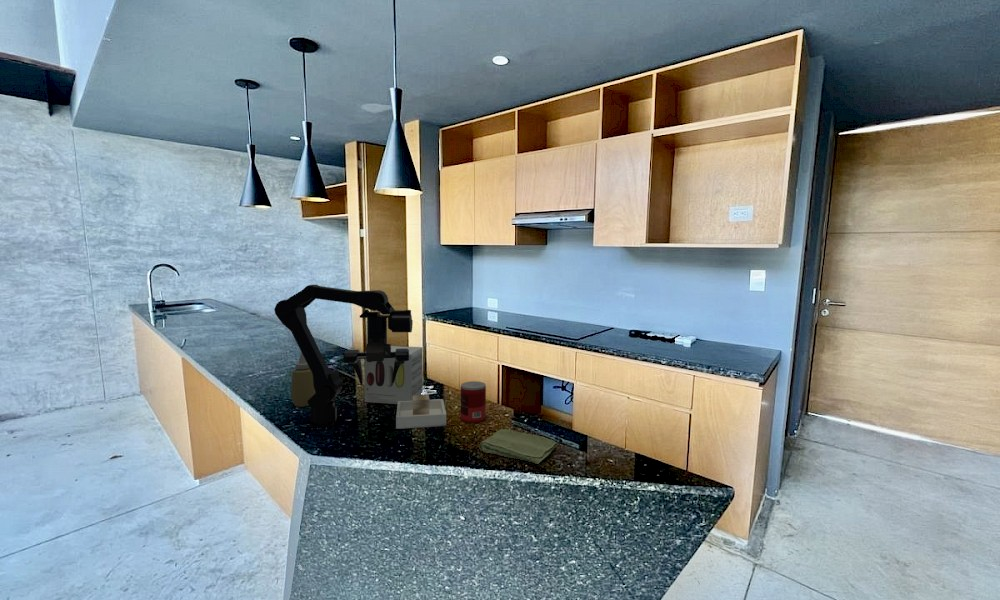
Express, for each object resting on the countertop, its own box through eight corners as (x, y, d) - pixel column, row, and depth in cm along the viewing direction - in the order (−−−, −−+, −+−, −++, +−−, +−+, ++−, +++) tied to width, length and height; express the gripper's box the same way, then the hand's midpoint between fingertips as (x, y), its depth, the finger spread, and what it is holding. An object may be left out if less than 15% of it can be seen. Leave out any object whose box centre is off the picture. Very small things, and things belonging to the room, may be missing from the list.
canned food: (489, 416, 131) (489, 382, 130) (477, 425, 123) (478, 389, 123) (468, 413, 134) (468, 380, 133) (455, 421, 127) (456, 386, 126)
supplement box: (363, 403, 142) (363, 351, 141) (379, 392, 156) (378, 345, 154) (411, 405, 140) (411, 353, 139) (423, 394, 154) (423, 346, 152)
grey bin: (396, 428, 120) (396, 417, 119) (398, 411, 134) (397, 401, 134) (446, 425, 123) (446, 414, 122) (442, 409, 137) (442, 399, 137)
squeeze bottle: (285, 406, 138) (283, 353, 136) (304, 399, 145) (303, 349, 144) (303, 409, 135) (301, 355, 133) (322, 402, 142) (321, 351, 141)
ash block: (412, 419, 126) (412, 400, 125) (412, 414, 130) (412, 395, 130) (429, 418, 127) (429, 399, 126) (428, 413, 132) (428, 394, 131)
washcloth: (540, 469, 97) (541, 456, 97) (476, 453, 105) (476, 441, 105) (558, 448, 109) (559, 436, 109) (499, 435, 117) (500, 424, 117)
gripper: (339, 337, 113) (340, 392, 114) (408, 336, 117) (408, 389, 118) (345, 331, 124) (346, 382, 125) (409, 330, 128) (409, 379, 129)
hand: (377, 383), depth 124 cm, fingers open, 9 cm apart
